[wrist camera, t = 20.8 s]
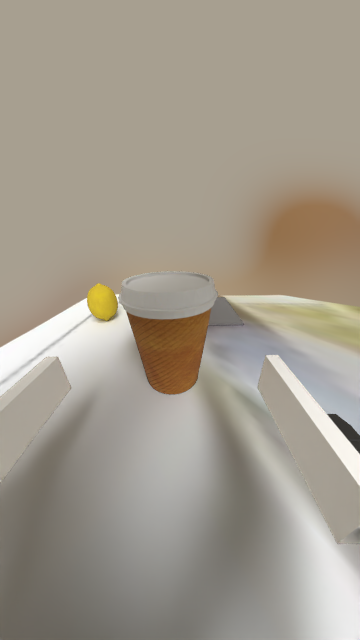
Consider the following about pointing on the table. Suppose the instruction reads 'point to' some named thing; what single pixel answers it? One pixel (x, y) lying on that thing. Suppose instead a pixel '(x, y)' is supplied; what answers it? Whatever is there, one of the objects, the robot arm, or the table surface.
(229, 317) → the mat
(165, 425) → the table surface
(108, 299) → the lemon
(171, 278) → the disposable coffee cup
